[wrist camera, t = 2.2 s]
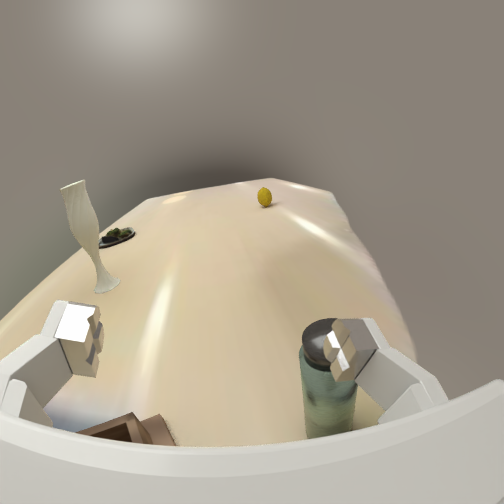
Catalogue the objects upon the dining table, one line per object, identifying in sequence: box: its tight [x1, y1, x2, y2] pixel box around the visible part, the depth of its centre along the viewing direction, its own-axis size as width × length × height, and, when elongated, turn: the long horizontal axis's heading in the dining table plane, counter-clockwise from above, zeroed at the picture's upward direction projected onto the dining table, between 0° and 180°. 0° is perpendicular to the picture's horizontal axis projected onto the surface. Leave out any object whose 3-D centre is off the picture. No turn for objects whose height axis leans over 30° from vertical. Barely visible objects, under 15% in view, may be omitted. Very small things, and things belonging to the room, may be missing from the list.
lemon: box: [258, 187, 272, 207], centre depth 115 cm, size 6×6×8 cm
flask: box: [299, 318, 358, 439], centre depth 27 cm, size 6×6×16 cm
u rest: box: [76, 412, 176, 446], centre depth 25 cm, size 15×15×6 cm
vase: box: [60, 180, 120, 293], centre depth 71 cm, size 9×8×30 cm
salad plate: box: [99, 227, 135, 248], centre depth 116 cm, size 19×18×5 cm
